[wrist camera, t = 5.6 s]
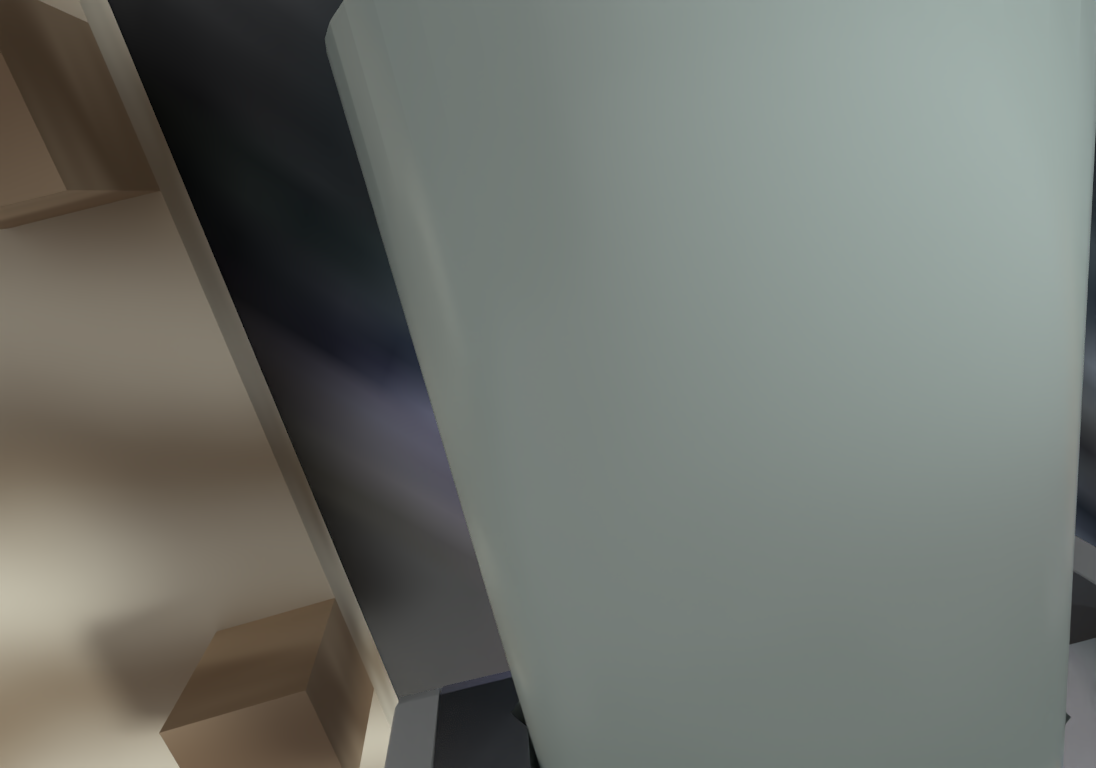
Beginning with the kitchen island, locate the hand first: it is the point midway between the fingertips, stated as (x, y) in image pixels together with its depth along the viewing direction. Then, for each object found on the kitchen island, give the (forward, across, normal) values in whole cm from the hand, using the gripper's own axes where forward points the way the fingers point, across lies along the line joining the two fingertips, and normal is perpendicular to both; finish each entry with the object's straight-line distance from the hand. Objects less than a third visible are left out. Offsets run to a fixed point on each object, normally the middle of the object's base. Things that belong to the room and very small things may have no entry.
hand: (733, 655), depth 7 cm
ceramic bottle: (+2, 0, -2) cm, 3 cm away
